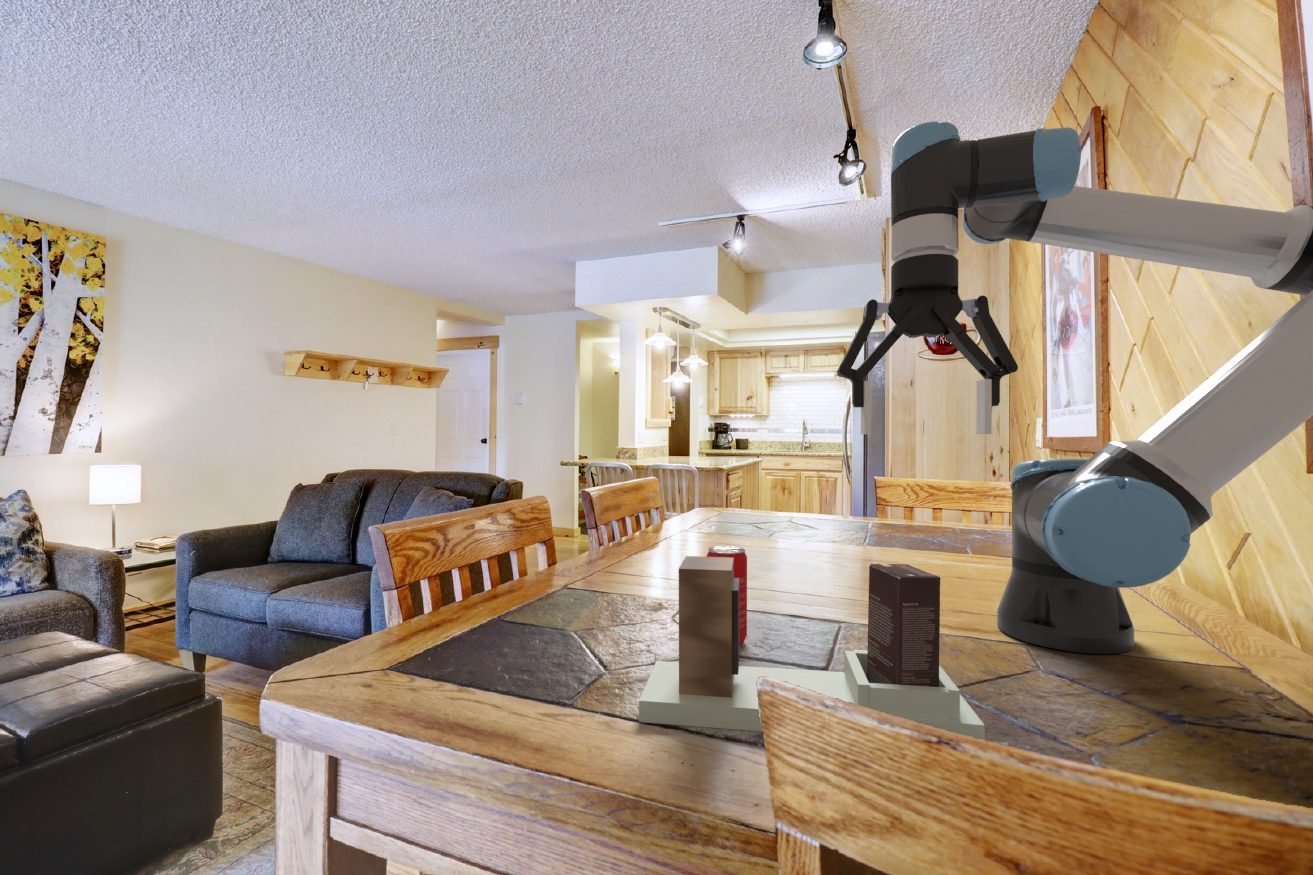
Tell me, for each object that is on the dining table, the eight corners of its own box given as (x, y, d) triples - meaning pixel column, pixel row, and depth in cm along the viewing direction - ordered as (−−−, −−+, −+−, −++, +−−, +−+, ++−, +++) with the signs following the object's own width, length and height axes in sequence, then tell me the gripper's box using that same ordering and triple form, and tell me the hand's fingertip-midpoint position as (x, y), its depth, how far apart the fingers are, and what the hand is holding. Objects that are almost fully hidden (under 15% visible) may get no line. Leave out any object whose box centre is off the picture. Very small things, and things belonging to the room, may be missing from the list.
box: (943, 709, 55) (943, 575, 55) (895, 712, 54) (895, 577, 54) (907, 682, 61) (907, 561, 61) (864, 684, 60) (864, 563, 60)
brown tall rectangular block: (739, 673, 63) (739, 557, 63) (738, 697, 57) (737, 570, 57) (686, 669, 64) (685, 556, 64) (678, 693, 58) (678, 568, 58)
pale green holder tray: (948, 697, 62) (948, 653, 62) (984, 748, 52) (984, 695, 52) (656, 679, 66) (656, 638, 66) (639, 721, 57) (638, 673, 57)
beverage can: (745, 650, 75) (745, 554, 75) (704, 647, 76) (704, 552, 76) (747, 637, 80) (748, 546, 80) (708, 634, 81) (708, 544, 81)
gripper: (1021, 263, 76) (1021, 434, 76) (815, 272, 80) (815, 434, 80) (1050, 245, 68) (1050, 434, 68) (821, 256, 72) (821, 434, 72)
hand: (923, 434), depth 74 cm, fingers open, 13 cm apart
